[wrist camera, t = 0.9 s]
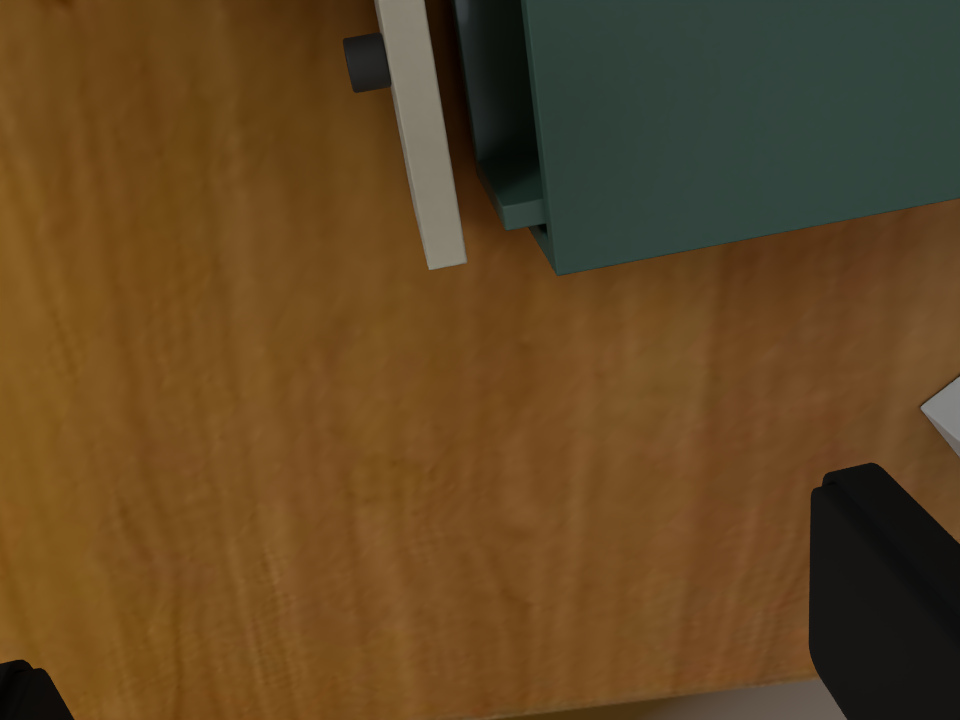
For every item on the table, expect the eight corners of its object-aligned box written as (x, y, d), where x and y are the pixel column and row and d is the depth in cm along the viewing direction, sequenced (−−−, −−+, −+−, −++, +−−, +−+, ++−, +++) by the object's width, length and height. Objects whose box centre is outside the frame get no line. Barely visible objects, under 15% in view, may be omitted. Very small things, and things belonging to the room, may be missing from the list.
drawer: (381, 210, 32) (389, 278, 26) (307, -141, 26) (296, -159, 20) (761, 139, 32) (855, 189, 26) (764, -216, 27) (884, -254, 21)
